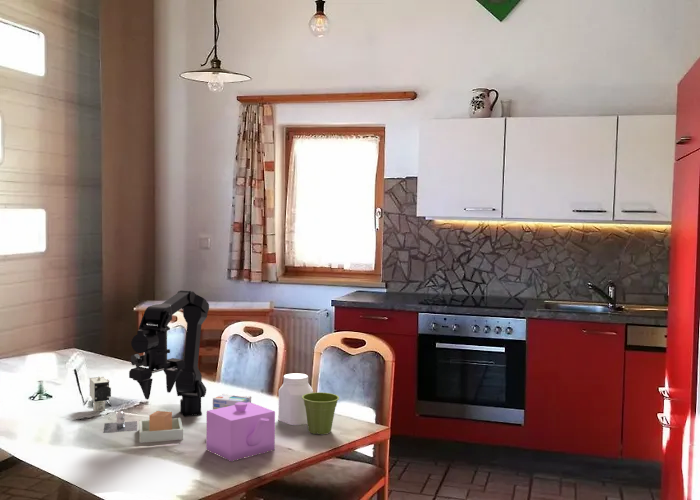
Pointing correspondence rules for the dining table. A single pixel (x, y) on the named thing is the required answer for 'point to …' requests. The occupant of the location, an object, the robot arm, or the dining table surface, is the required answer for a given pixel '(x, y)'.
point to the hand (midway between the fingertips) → (158, 395)
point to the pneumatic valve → (99, 392)
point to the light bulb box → (228, 400)
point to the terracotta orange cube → (160, 421)
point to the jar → (293, 399)
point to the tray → (160, 432)
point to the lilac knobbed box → (240, 430)
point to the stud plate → (114, 427)
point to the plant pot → (320, 411)
